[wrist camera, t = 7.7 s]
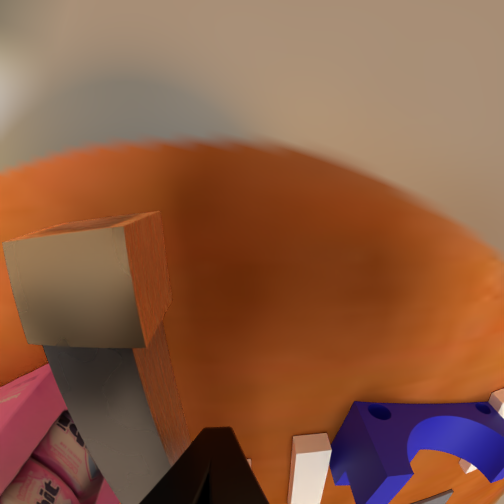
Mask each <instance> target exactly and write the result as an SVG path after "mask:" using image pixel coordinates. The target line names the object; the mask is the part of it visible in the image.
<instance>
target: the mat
mask: <svg viewBox="0 0 504 504" xmlns="http://www.w3.org/2000/svg"><path fill="white" fill-rule="evenodd" d="M452 493H453V490H452V489H451V490H448V491H446V492H443V493H441V494H438V495H435V496H433V497H430V498H427V499H424V500H421V501H418V502H415V503H412V504H445V503H446V502H447V500H448V499H449V498H450V496H451V495H452Z"/></svg>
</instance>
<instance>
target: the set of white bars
mask: <svg viewBox="0 0 504 504" xmlns="http://www.w3.org/2000/svg"><path fill="white" fill-rule="evenodd" d="M488 402H489V403H490V404H491V406H492V407H493V408H494V409H495V410H496V411H497V412H498V413H499V414H500V415H501V416H502V418H503V419H504V388H503V389H500V390H498V391H495V392H492V394H491V396H490V399H489V401H488ZM331 451H332V449H331V445H330V442H329V439H328V435H327V433H320V434H311V435H300V436H293V444H292V457H291V469H290V481H289V491H288V501H287V504H320V501H321V497H322V493H323V488H324V484H325V480H326V475H327V471H328V466H329V461H330V456H331ZM247 461H248V463H249V465H250V467H251V459H247ZM459 464H460V466H461V467H462V469H463V471H464V472H465V474H466V473H469V472H471V471H473V470H475V469H477V468H476V467H475V466H473V465H472V464H471V463H469V462H467V461H466V460H464V459H462V458H461V459H460V461H459Z"/></svg>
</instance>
